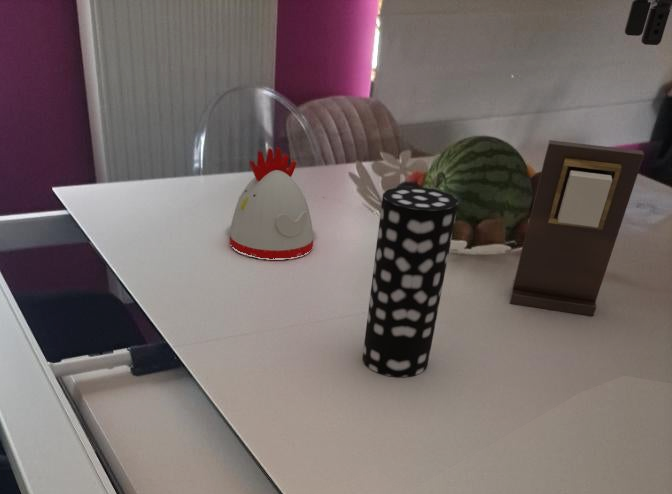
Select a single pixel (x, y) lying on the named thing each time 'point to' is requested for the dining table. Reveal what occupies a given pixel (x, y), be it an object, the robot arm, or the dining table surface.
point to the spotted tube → (408, 279)
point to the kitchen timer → (272, 212)
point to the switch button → (584, 198)
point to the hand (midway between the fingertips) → (640, 39)
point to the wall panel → (572, 230)
